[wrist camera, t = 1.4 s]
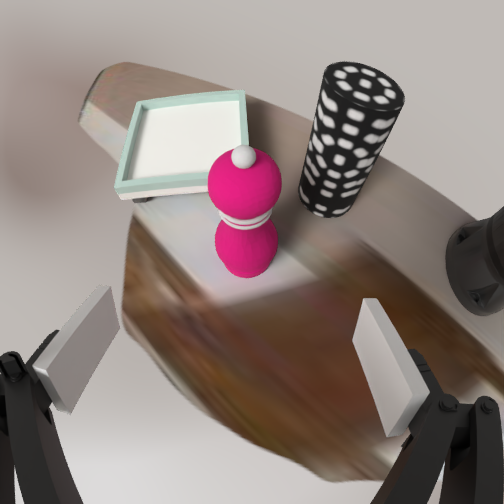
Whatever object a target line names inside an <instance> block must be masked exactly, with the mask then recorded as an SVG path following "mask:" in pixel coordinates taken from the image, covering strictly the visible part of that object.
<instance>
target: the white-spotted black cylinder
mask: <svg viewBox="0 0 504 504" xmlns="http://www.w3.org/2000/svg"><path fill="white" fill-rule="evenodd" d="M404 102H405V96H404V93H403V91H402V90H401V88H400V87H399V86H398V84H397V83H396V82H395V81H394V80H392V79H391V78H390V77H389V76H387V75H386V74H384V73H383V72H381V71H379V70H377V69H375V68H372V67H370V66H367V65H364V64H360V63H355V62H336V63H334V64H331V65H329V66H327V68H326V69H325V71H324V75H323V80H322V85H321V89H320V94H319V99H318V104H317V108H316V113H315V117H314V122H313V126H312V131H311V135H310V140H309V144H308V148H307V153H306V157H305V162H304V166H303V170H302V174H301V179H300V183H299V187H298V193H299V197H300V200H301V202H302V203H303V205H304V206H305V207H306V208H307V209H308V210H309V211H311V212H312V213H314V214H316V215H318V216H321V217H326V218H335V217H339V216H342V215H344V214H345V213H346V212H348V210H349V209H350V208H351V206H352V204H353V202H354V201H355V199H356V197H357V195H358V193H359V192H360V190H361V188H362V186H363V184H364V182H365V180H366V179H367V177H368V175H369V173H370V171H371V169H372V167H373V165H374V163H375V161H376V160H377V158H378V156H379V154H380V152H381V150H382V148H383V146H384V144H385V142H386V139H387V138H388V136H389V134H390V132H391V130H392V128H393V125H394V124H395V122H396V120H397V117H398V115H399V113H400V111H401V109H402V107H403V105H404Z"/></svg>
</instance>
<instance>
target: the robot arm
mask: <svg viewBox="0 0 504 504" xmlns="http://www.w3.org/2000/svg"><path fill="white" fill-rule="evenodd" d="M446 269H447V274H448V278H449V281H450V284H451V287H452V289H453V291H454V293H455V295H456V297H457V298H458V300H459V301H460V302H461V304H462V305H463V306H464V307H465V308H466V309H467V310H469V311H470V312H472V313H473V314H476V315H479V316H488V315H491V314H493V313H496V312H498V311H500V310H501V309H503V308H504V207H502V208H501V209H500V210H499V211H498V212H497V213H495V214H494V215H493V216H492V217H491V218H487V219H483V220H480V221H476V222H472V223H468V224H466V225H464V226H462V227H461V228H460V229H459V230H458V231H456V232H455V233H454V234H453V235H452V237H451V238H450V240H449V242H448V246H447V250H446ZM119 329H120V326H119V322H118V318H117V314H116V309H115V304H114V300H113V295H112V290H111V287H110V286H101V285H99V286H98V287H97V288H96V289H95V290H94V291H93V292H92V293H91V295H90V296H89V297H88V298H87V299H86V300H85V301H84V302H83V304H82V305H81V306H80V307H79V308H78V309H77V311H76V312H75V313H74V314H73V315H72V316H71V318H70V319H69V320H68V321H67V322H66V324H65V325H64V326H63V327H62V329H61V330H55V331H54V332H52V333H51V334H49V335H48V336H47V338H46V339H45V340H44V341H43V343H42V344H41V345H40V346H39V349H37V350H36V351H35V352H34V354H33V355H32V356H31V357H30V359H29V360H28V361H27V363H26V364H24V362H23V360H22V358H21V356H20V354H19V353H17V352H14V351H11V352H7V353H4V354H3V355H2V356H0V373H1V374H0V504H15V487H14V486H15V485H14V465H15V469H16V474H17V478H18V483H19V486H20V490H21V493H22V497H23V501H24V504H83V502H82V499H81V497H80V495H79V492H78V490H77V488H76V485H75V483H74V480H73V478H72V475H71V473H70V470H69V467H68V464H67V462H66V459H65V456H64V453H63V450H62V447H61V444H60V441H59V437H58V434H57V430H56V427H55V423H54V419H53V415H52V412H51V410H50V408H49V406H50V404H51V403H52V402H53V404H54V406H55V407H56V408H57V410H58V411H61V412H64V413H67V414H71V413H72V411H73V409H74V407H75V405H76V403H77V401H78V399H79V398H80V396H81V394H82V392H83V391H84V389H85V387H86V385H87V383H88V382H89V379H90V378H91V376H92V374H93V373H94V371H95V369H96V367H97V366H98V364H99V362H100V360H101V359H102V357H103V355H104V354H105V352H106V350H107V348H108V347H109V345H110V344H111V342H112V340H113V339H114V337H115V335H116V334H117V332H118V330H119ZM352 341H353V343H354V346H355V349H356V351H357V354H358V356H359V359H360V362H361V365H362V367H363V370H364V373H365V375H366V378H367V381H368V384H369V387H370V389H371V392H372V395H373V398H374V401H375V404H376V407H377V410H378V412H379V415H380V418H381V421H382V425H383V428H384V431H385V434H386V437H392V436H397V435H402V434H403V433H404V432H405V430H406V429H407V427H409V430H410V432H411V434H410V435H409V436H408V438H407V439H406V440H405V442H404V443H403V444H402V446H401V447H403V448H402V450H401V452H400V454H399V456H398V458H397V460H396V462H395V463H394V465H393V467H392V469H391V471H390V472H389V474H388V476H387V478H386V479H385V481H384V483H383V484H382V486H381V488H380V489H379V491H378V493H377V494H376V496H375V497H374V499H373V500H372V502H371V503H370V504H427V502H428V500H429V498H430V496H431V494H432V491H433V489H434V487H435V484H436V482H437V480H438V477H439V475H440V472H441V470H442V467H443V464H444V462H445V466H444V474H443V482H442V489H441V495H440V501H439V504H503V492H504V459H503V440H502V429H501V420H500V412H499V407H498V404H497V403H496V401H495V400H494V399H492V398H491V397H488V396H481V397H479V398H478V399H477V400H476V402H475V403H474V404H460V403H459V401H458V400H457V399H456V398H455V397H454V396H452V395H450V394H445V393H444V392H443V391H442V389H441V387H440V385H439V383H438V382H437V380H436V378H435V376H434V374H433V373H432V371H431V369H430V367H429V366H428V365H427V362H426V361H425V359H424V357H423V356H422V355H421V354H420V353H419V352H418V351H417V350H415V349H408V350H407V349H406V347H405V345H404V343H403V342H402V340H401V338H400V336H399V335H398V333H397V331H396V329H395V328H394V326H393V324H392V323H391V321H390V319H389V318H388V316H387V314H386V313H385V311H384V309H383V308H382V306H381V304H380V303H379V301H378V300H377V298H363V302H362V306H361V310H360V314H359V318H358V322H357V325H356V329H355V333H354V336H353V340H352Z"/></svg>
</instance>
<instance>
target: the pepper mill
mask: <svg viewBox="0 0 504 504" xmlns="http://www.w3.org/2000/svg"><path fill="white" fill-rule="evenodd" d="M207 186H208V192H209V196H210V198H211V200H212V202H213V203H214V205H215V206H216V207H217V208H218V212H219V215H220V217H221V218H222V220H221V222H220V223H219V225H218V228H217V231H216V234H215V246H216V251H217V254H218V256H219V258H220V259H221V260H222V262H223V263H224V264H225V266H226V268H227V269H228V270H229V271H230V272H231V273H232V274H234V275H236V276H238V277H242V278H252V277H255V276H258V275H260V274H261V273H263V272H264V271H265V270H266V269H267V267H268V266H269V264H270V261H271V260H272V259H273V257H274V256H275V254H276V251H277V247H278V235H277V231H276V228H275V226H274V224H273V223H272V221H271V220H270V218H269V217H270V215H271V213H272V210H273V206H274V205H275V203H276V202H277V200H278V198H279V195H280V192H281V187H282V181H281V173H280V171H279V168H278V166H277V165H276V163H275V161H274V160H273V159H272V158H271V157H270V156H269V155H267V154H266V153H265V152H263V151H261V150H259V149H255V148H252V147H250V146H248V145H239V146H237V147H236V148H235V149H232V150H229V151H227V152H225V153H223V154H222V155H221V156H219V157H218V158H217V159H216V160H215V161H214V163H213V165H212V166H211V169H210V171H209V174H208V185H207Z"/></svg>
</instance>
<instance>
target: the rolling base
mask: <svg viewBox="0 0 504 504" xmlns="http://www.w3.org/2000/svg"><path fill="white" fill-rule="evenodd" d="M239 145H248V146H249V140H248V126H247V113H246V100H245V90H232V91H217V92H205V93H195V94H186V95H178V96H170V97H163V98H156V99H150V100H144V101H139V102H137V103H136V107H135V110H134V113H133V116H132V119H131V123H130V126H129V130H128V133H127V137H126V140H125V144H124V148H123V152H122V155H121V159H120V164H119V168H118V172H117V176H116V181H115V185H114V189H115V190H116V192H117V193H118V195H119V196H120V198H121V200H125V199H132V200H133V202H134V203H141V202H146V201H147V199H148V197H153V196H164V195H175V194H187V193H199V192H208V186H207V185H208V174H209V171H210V169H211V166H212V165H213V163H214V161H215V160H216V159H217V158H218V157H219V156H221V155H222V154H223V153H225V152H227V151H229V150H232V149H235V148H236V147H237V146H239Z"/></svg>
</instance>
